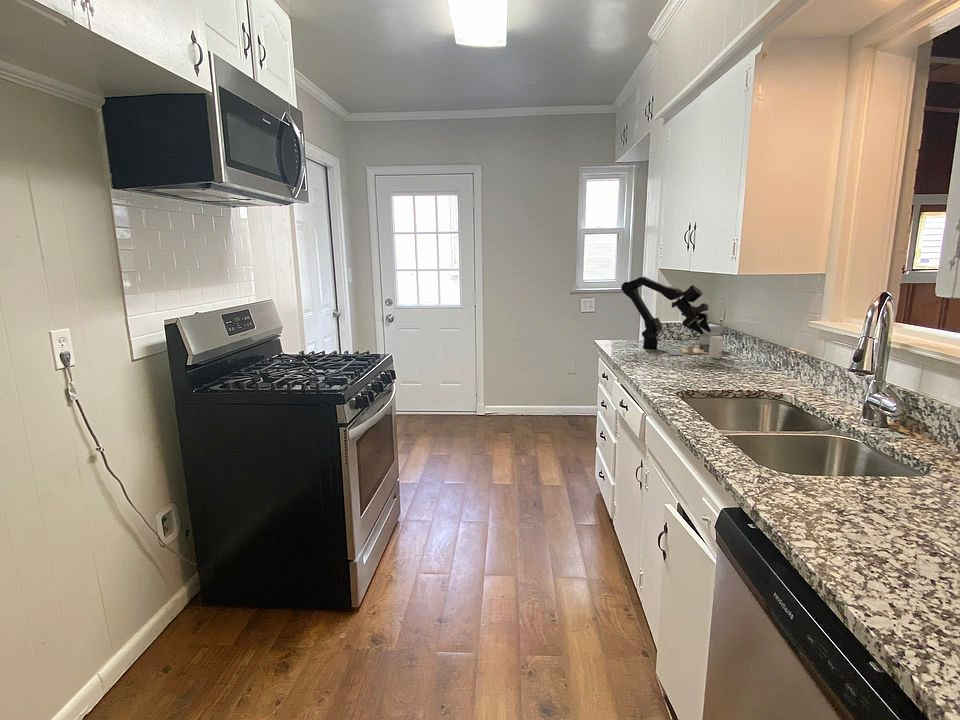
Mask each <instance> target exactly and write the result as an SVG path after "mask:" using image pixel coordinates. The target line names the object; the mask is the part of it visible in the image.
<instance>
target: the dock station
mask: <svg viewBox="0 0 960 720" xmlns="http://www.w3.org/2000/svg"><path fill="white" fill-rule="evenodd" d="M679 351H680V352H681V353H682V354H684V355H705V356H706V355H707V356H708V354H709V344H700V348H699V347H698V348H697V347H696V348H695V347H694V345H693V344H691V343H687V344H686V347H679ZM721 356H723V353H721Z"/></svg>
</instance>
